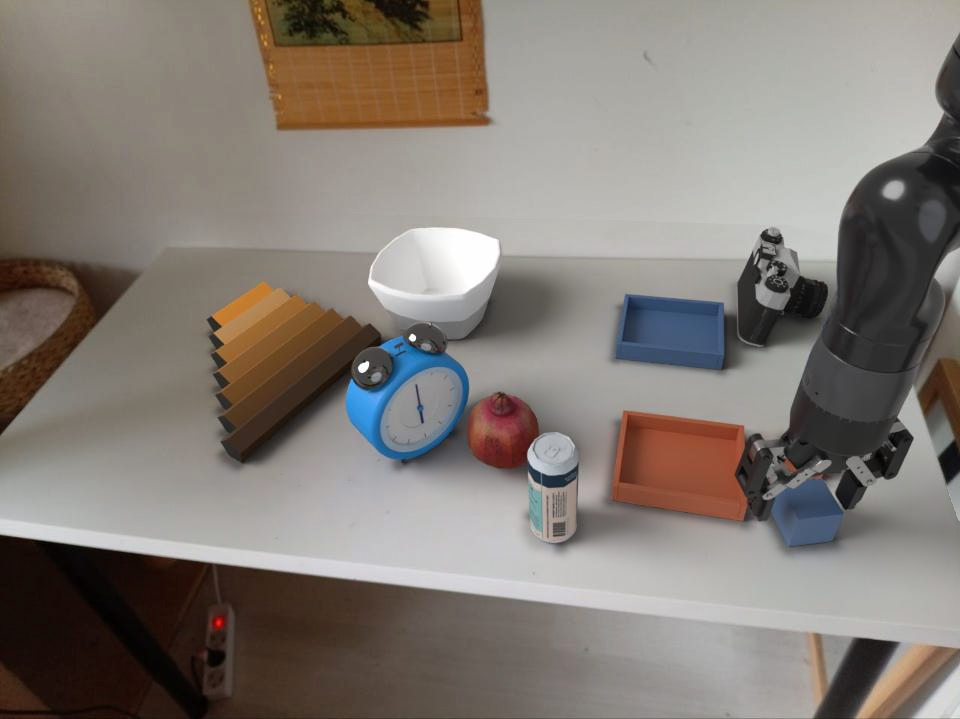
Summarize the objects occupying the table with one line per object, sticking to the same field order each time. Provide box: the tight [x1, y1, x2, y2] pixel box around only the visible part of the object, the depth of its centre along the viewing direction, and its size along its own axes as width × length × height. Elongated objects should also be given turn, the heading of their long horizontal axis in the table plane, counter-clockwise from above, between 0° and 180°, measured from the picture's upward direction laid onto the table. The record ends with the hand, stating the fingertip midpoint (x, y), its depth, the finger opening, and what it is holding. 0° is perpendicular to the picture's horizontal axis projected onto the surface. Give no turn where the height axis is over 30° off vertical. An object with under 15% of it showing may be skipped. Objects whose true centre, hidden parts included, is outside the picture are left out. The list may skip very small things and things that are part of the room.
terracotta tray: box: [611, 409, 749, 522], centre depth 74 cm, size 13×11×2 cm
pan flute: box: [206, 280, 382, 464], centre depth 92 cm, size 25×3×25 cm
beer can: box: [527, 431, 580, 544], centre depth 66 cm, size 5×5×12 cm
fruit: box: [465, 391, 541, 470], centre depth 74 cm, size 8×8×10 cm
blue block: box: [770, 477, 845, 548], centre depth 67 cm, size 4×4×4 cm
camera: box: [736, 226, 829, 348], centre depth 90 cm, size 15×11×10 cm
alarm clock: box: [345, 322, 470, 464], centre depth 76 cm, size 13×6×15 cm, turn 129°
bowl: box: [367, 226, 503, 340], centre depth 96 cm, size 18×18×9 cm
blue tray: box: [615, 293, 725, 371], centre depth 91 cm, size 13×11×2 cm
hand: (801, 508), depth 66 cm, fingers open, 8 cm apart
